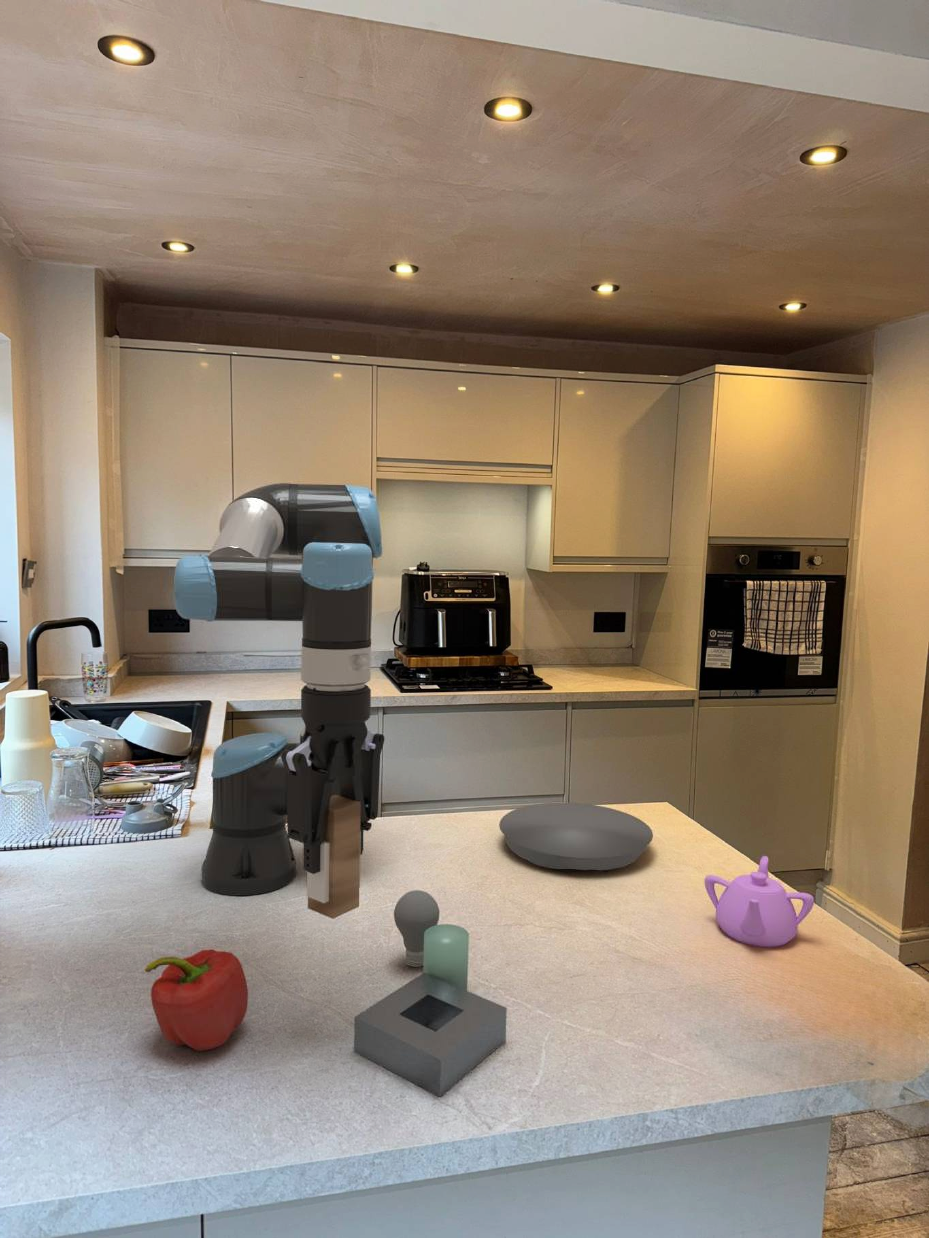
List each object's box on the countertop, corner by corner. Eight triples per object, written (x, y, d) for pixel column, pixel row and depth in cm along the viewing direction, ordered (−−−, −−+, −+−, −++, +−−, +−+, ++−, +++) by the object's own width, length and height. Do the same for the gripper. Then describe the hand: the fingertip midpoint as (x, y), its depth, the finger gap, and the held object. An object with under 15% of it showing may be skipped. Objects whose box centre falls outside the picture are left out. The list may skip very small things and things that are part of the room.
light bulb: (444, 958, 111) (446, 887, 110) (428, 980, 106) (430, 905, 105) (403, 950, 113) (405, 879, 112) (385, 971, 108) (386, 897, 107)
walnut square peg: (307, 908, 92) (308, 803, 91) (334, 896, 95) (335, 794, 94) (332, 918, 89) (334, 811, 88) (358, 906, 92) (360, 802, 91)
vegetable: (147, 1077, 85) (147, 985, 84) (143, 1023, 95) (142, 939, 94) (255, 1053, 90) (255, 966, 89) (240, 1004, 99) (240, 924, 98)
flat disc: (505, 819, 168) (506, 798, 168) (645, 829, 164) (646, 807, 164) (490, 876, 141) (491, 851, 140) (658, 889, 137) (660, 863, 136)
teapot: (762, 908, 130) (765, 854, 129) (822, 951, 116) (827, 890, 115) (695, 915, 126) (698, 859, 125) (749, 960, 113) (753, 898, 112)
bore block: (354, 1051, 91) (354, 1016, 90) (423, 1003, 100) (423, 972, 100) (440, 1097, 84) (441, 1059, 83) (505, 1041, 93) (506, 1007, 93)
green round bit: (413, 998, 101) (414, 935, 101) (441, 979, 106) (442, 920, 105) (448, 1014, 98) (450, 950, 97) (475, 994, 103) (477, 933, 102)
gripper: (299, 699, 81) (297, 928, 83) (413, 679, 94) (409, 877, 96) (250, 689, 85) (250, 907, 87) (366, 672, 99) (363, 861, 101)
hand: (333, 891), depth 92 cm, fingers closed on walnut square peg, 4 cm apart
